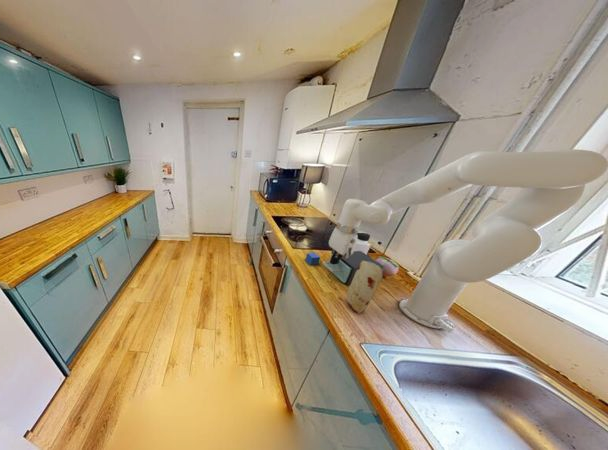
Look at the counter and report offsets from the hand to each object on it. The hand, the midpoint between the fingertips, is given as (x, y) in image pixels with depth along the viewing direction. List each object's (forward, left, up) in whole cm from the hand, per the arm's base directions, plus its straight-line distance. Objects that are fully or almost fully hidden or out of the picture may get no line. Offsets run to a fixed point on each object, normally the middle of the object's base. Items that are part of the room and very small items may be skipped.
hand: (333, 263), depth 92 cm
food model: (-18, +3, -8) cm, 20 cm away
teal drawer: (0, -6, -7) cm, 9 cm away
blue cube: (+12, +2, -8) cm, 14 cm away
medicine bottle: (+20, -32, -8) cm, 39 cm away
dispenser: (0, -11, -8) cm, 14 cm away
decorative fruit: (-1, -27, -8) cm, 29 cm away
